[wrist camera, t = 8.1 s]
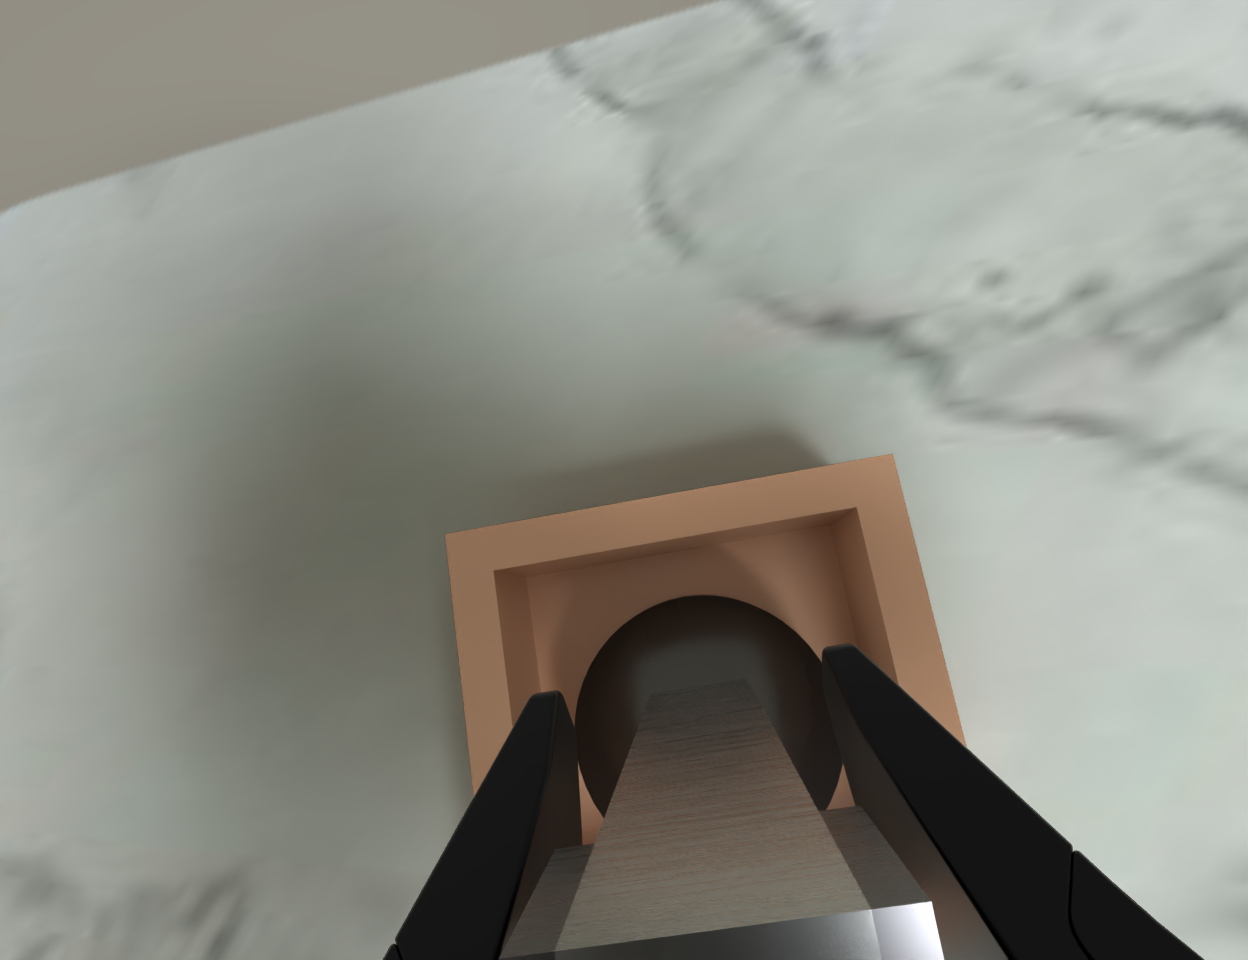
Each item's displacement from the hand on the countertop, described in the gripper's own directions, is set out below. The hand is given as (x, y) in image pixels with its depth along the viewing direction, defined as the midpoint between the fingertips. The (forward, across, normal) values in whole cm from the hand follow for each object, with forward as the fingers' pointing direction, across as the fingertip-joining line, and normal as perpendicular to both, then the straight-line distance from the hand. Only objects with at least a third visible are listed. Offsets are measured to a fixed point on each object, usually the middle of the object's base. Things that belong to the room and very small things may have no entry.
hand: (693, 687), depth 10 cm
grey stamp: (+4, 0, +7) cm, 8 cm away
